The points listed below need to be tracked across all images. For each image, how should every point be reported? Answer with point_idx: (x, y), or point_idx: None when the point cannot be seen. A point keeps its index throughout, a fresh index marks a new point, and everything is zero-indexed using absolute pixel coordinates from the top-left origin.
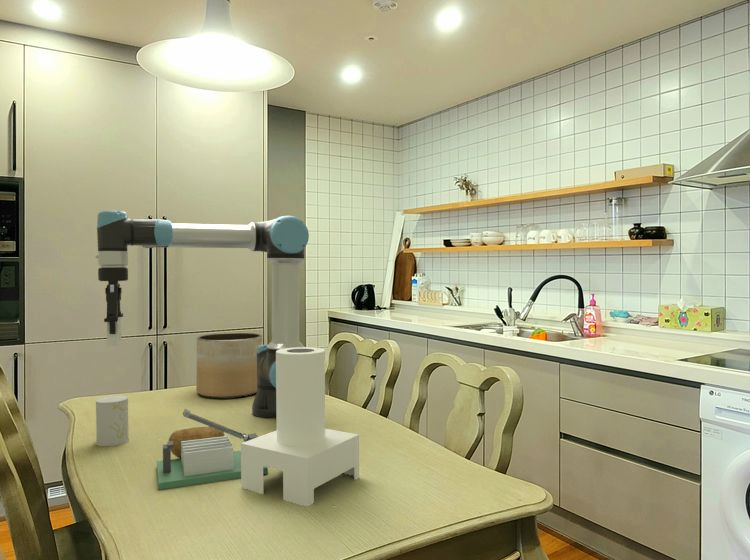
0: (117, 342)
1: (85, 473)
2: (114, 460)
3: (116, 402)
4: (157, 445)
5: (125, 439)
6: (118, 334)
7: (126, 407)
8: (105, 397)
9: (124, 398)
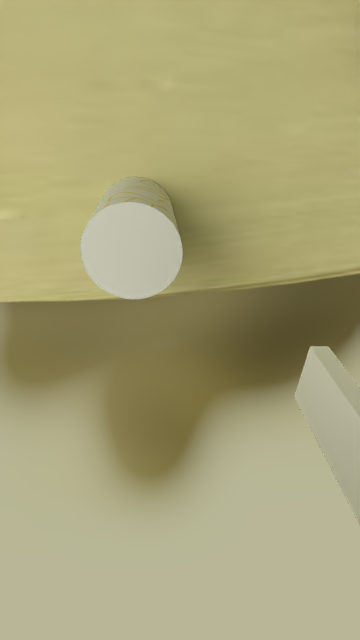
0: (337, 366)
1: (335, 261)
2: (290, 210)
3: (180, 239)
4: (228, 97)
5: (158, 186)
6: (348, 400)
7: (152, 200)
8: (95, 274)
9: (139, 214)
